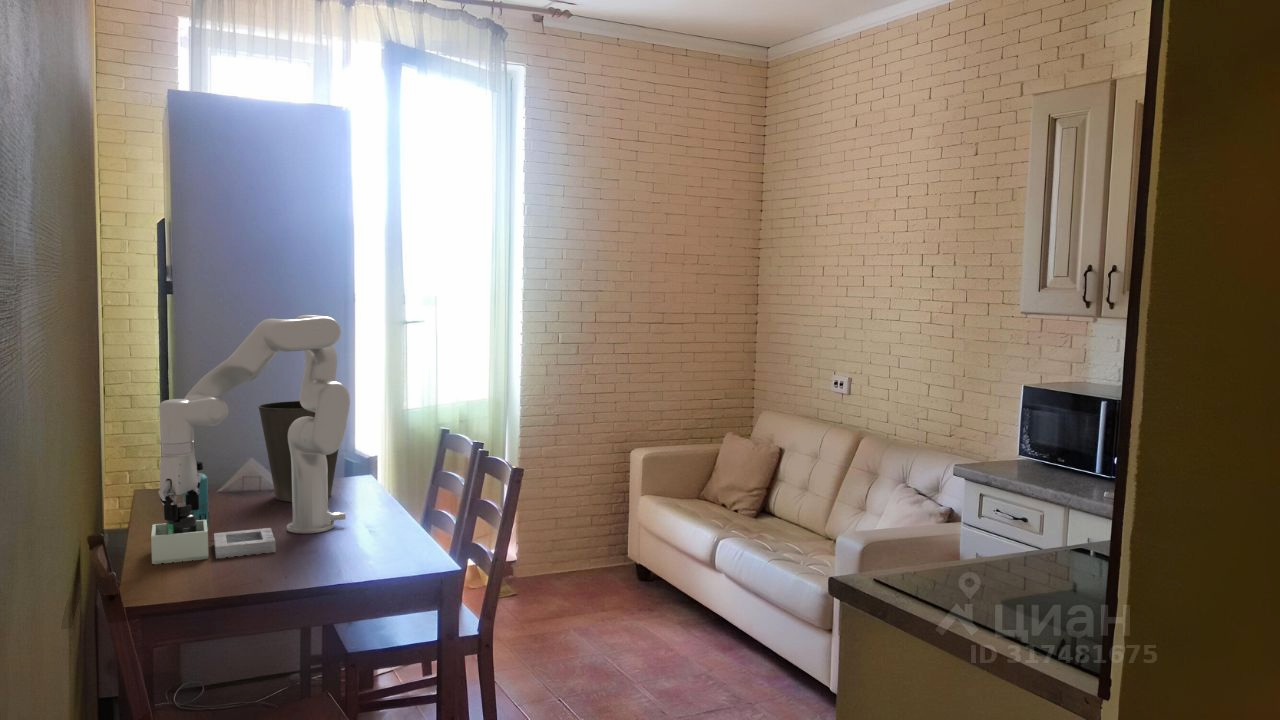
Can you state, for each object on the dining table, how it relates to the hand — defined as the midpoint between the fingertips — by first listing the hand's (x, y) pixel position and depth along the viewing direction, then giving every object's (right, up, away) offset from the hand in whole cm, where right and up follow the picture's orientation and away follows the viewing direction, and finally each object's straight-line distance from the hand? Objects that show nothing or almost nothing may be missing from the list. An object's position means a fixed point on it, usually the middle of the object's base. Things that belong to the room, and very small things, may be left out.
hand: (182, 514), depth 241 cm
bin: (-1, -10, 0) cm, 10 cm away
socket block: (+13, -10, +7) cm, 18 cm away
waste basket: (+8, -5, +65) cm, 66 cm away
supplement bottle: (0, -10, +1) cm, 10 cm away
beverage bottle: (-6, -9, +20) cm, 23 cm away
